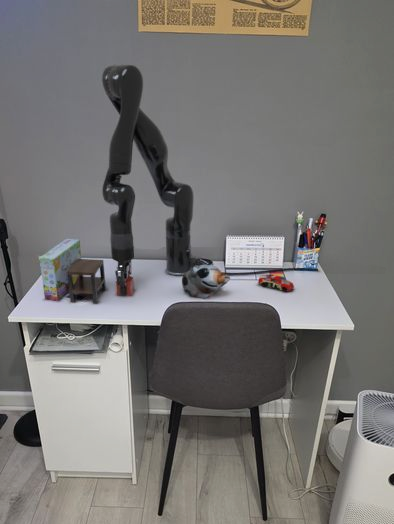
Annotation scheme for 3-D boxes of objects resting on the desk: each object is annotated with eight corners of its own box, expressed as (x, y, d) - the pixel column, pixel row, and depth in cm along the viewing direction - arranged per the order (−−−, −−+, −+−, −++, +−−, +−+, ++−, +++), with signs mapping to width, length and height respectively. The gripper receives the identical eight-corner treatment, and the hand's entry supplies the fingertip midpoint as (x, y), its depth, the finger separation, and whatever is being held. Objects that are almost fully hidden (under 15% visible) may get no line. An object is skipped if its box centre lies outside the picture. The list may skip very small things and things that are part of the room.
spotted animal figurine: (220, 283, 179) (234, 257, 168) (219, 308, 172) (233, 282, 161) (181, 273, 176) (192, 245, 165) (178, 298, 169) (189, 271, 158)
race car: (295, 288, 177) (297, 278, 175) (289, 293, 173) (291, 283, 171) (262, 280, 183) (263, 270, 181) (256, 285, 179) (257, 275, 177)
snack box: (59, 301, 165) (53, 258, 158) (44, 299, 166) (37, 257, 159) (84, 277, 183) (80, 238, 175) (70, 276, 184) (65, 237, 176)
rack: (106, 289, 174) (103, 259, 169) (97, 303, 164) (93, 272, 159) (81, 288, 175) (77, 258, 169) (70, 302, 165) (66, 271, 159)
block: (134, 290, 174) (133, 276, 172) (131, 295, 170) (130, 282, 167) (120, 289, 174) (119, 276, 172) (116, 295, 170) (115, 281, 168)
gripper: (128, 252, 157) (131, 300, 166) (137, 238, 169) (139, 284, 178) (105, 251, 157) (110, 299, 166) (116, 237, 170) (119, 283, 178)
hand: (125, 291), depth 172 cm, fingers closed on block, 5 cm apart
